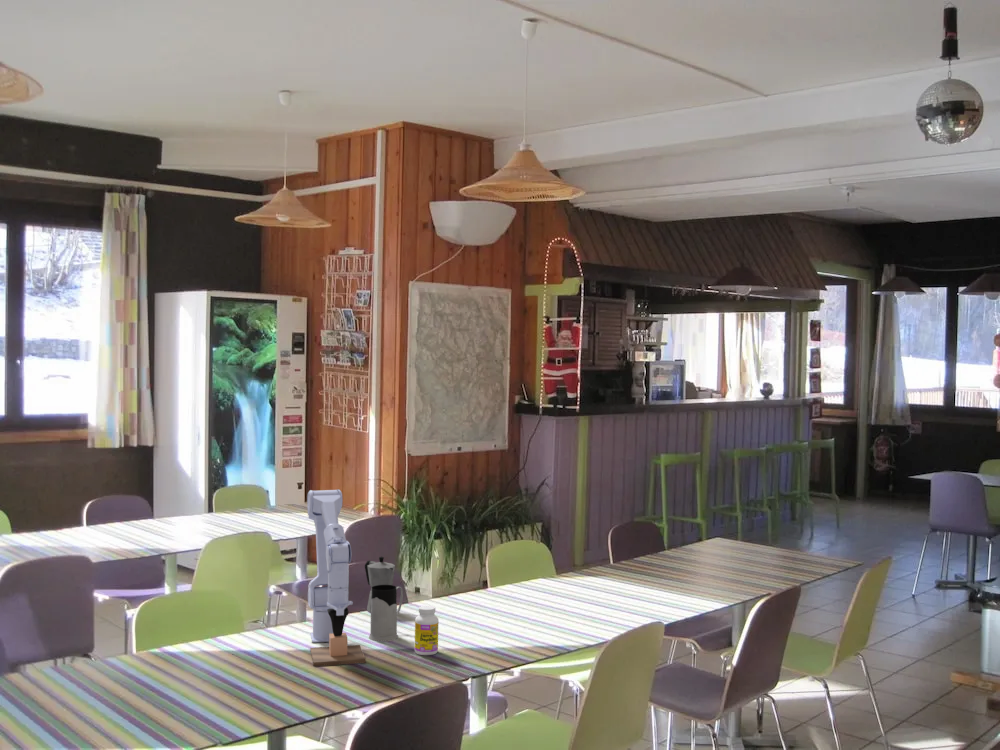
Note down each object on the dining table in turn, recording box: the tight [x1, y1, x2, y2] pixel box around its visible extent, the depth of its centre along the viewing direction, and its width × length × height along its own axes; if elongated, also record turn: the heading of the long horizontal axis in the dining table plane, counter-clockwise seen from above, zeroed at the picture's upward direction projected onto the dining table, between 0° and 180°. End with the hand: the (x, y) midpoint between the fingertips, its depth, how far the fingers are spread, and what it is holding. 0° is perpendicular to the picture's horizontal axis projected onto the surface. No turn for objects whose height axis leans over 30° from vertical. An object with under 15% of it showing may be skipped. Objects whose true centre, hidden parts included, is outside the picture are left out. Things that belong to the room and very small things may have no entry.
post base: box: [310, 644, 366, 667], centre depth 270 cm, size 14×14×5 cm
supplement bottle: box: [414, 605, 439, 656], centre depth 275 cm, size 7×7×13 cm
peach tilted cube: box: [328, 632, 348, 656], centre depth 270 cm, size 5×5×5 cm
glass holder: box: [368, 585, 404, 642], centre depth 293 cm, size 9×14×15 cm, turn 152°
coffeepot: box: [364, 556, 396, 614], centre depth 323 cm, size 15×9×18 cm, turn 44°
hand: (337, 635), depth 270 cm, fingers closed
